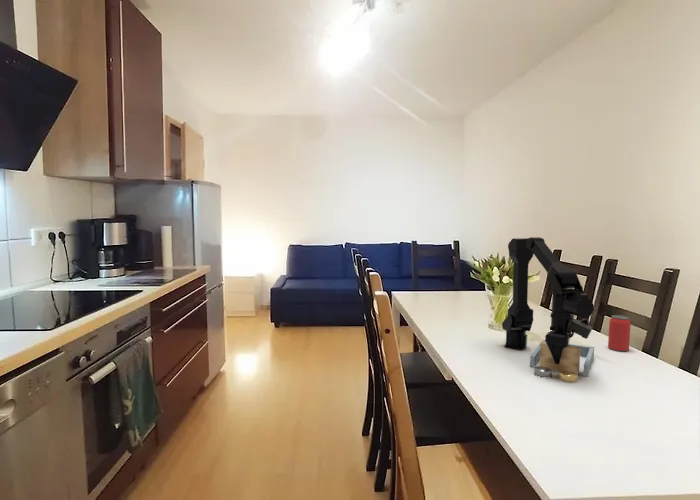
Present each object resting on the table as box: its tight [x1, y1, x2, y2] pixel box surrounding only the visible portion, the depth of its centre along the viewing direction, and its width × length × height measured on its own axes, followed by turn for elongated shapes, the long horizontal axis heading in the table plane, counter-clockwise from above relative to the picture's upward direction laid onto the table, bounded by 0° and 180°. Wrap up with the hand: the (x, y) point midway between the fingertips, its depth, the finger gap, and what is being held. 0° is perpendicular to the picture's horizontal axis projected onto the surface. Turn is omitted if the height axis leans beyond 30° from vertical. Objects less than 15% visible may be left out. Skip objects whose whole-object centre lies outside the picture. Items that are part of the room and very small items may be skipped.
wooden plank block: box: [539, 340, 581, 375], centre depth 143 cm, size 11×3×8 cm, turn 58°
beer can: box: [607, 314, 631, 352], centre depth 165 cm, size 7×7×12 cm
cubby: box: [529, 339, 595, 378], centre depth 151 cm, size 16×22×4 cm
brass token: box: [558, 371, 579, 384], centre depth 135 cm, size 5×5×2 cm
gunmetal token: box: [533, 365, 553, 379], centre depth 138 cm, size 5×5×2 cm
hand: (559, 359), depth 143 cm, fingers open, 9 cm apart
